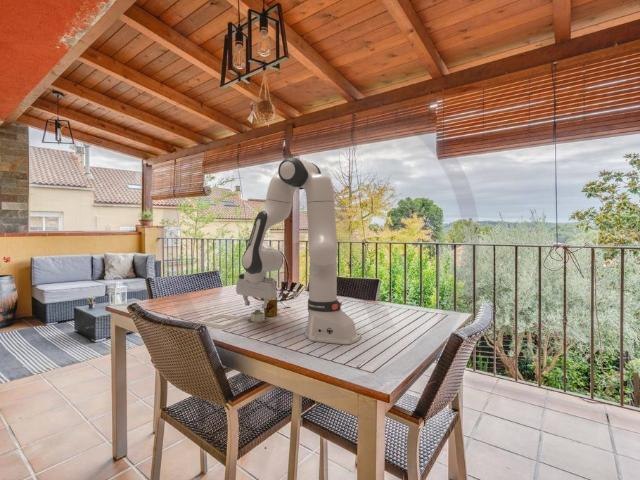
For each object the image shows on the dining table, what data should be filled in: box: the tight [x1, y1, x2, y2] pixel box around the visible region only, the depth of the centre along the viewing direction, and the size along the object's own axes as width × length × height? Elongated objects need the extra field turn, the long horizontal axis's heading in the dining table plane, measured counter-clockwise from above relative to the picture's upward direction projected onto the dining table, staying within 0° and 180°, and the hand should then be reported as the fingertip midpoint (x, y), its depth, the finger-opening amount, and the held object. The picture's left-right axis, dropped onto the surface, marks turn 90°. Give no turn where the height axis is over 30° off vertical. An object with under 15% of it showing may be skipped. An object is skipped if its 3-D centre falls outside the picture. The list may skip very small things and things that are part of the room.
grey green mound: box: [247, 309, 268, 324], centre depth 156 cm, size 9×9×5 cm
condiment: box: [263, 297, 278, 318], centre depth 165 cm, size 7×8×12 cm
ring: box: [250, 311, 266, 323], centre depth 156 cm, size 6×6×3 cm
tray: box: [197, 313, 246, 330], centre depth 151 cm, size 14×14×2 cm
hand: (255, 306), depth 156 cm, fingers open, 8 cm apart
